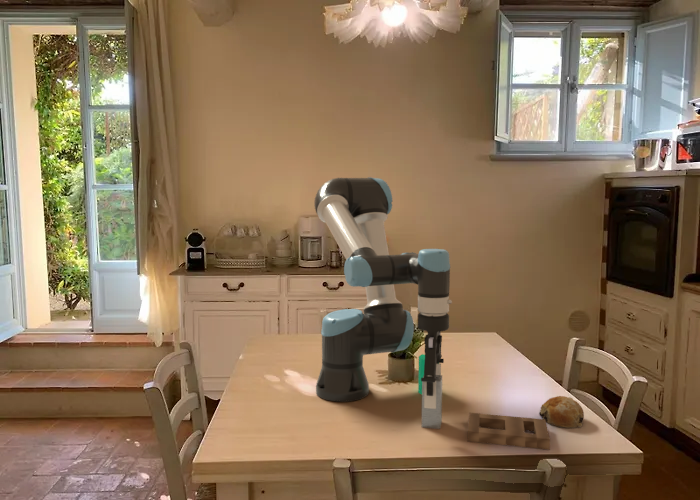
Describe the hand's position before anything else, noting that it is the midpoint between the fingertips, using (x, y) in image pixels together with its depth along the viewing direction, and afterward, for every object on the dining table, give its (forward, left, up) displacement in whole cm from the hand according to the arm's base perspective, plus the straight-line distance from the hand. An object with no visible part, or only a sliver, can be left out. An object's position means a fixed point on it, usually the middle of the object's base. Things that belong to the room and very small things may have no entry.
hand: (432, 397), depth 139 cm
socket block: (+18, -2, -7) cm, 19 cm away
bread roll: (+31, +10, -7) cm, 34 cm away
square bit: (0, 0, -7) cm, 7 cm away
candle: (-3, +22, -7) cm, 24 cm away
